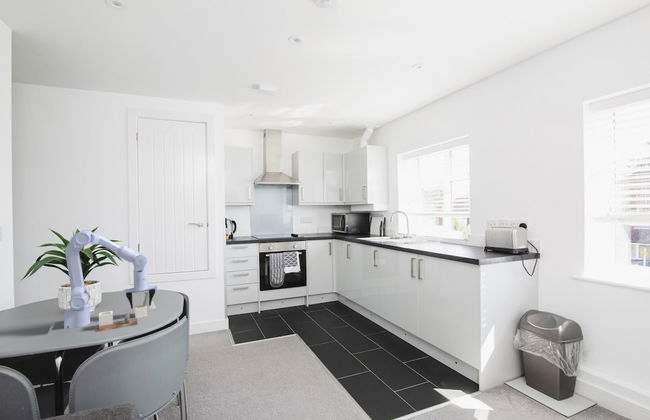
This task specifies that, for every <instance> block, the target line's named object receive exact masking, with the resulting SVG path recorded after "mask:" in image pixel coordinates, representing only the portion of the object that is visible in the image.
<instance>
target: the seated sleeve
mask: <svg viewBox="0 0 650 420" xmlns="http://www.w3.org/2000/svg"><path fill="white" fill-rule="evenodd" d="M113 314H114V313H113V310H109V311H102V312H99V313H98V324H99V330H100V329H105V328H111V327H113V322H114V317H113V316H114V315H113Z"/></svg>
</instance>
